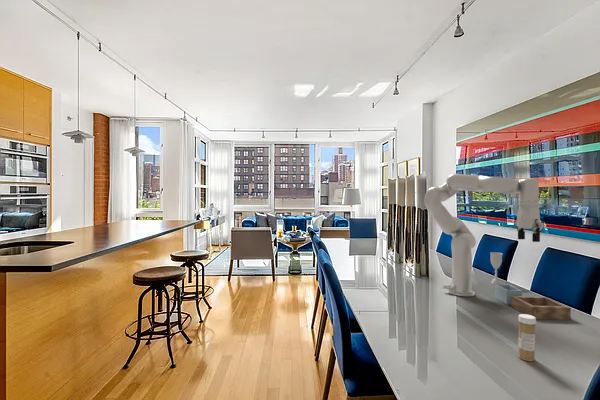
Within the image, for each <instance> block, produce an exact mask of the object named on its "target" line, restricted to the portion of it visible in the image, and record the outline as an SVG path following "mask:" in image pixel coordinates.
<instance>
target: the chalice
mask: <svg viewBox="0 0 600 400" xmlns="http://www.w3.org/2000/svg"><path fill="white" fill-rule="evenodd" d="M489 254H490V264H491V266H492V267H493V269H494V273H495V274H494V278H493V279H492V280H491V282H490V283H491V284H493V285H495V284H496V285H502V284H501V282H500V280H499V279H498V269H499V268H500V266H501V265H502V263H503V259H502V258H503V254H504V253H502V252H495V251H494V252H493V251H492V252H489Z"/></svg>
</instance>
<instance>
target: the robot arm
mask: <svg viewBox="0 0 600 400" xmlns="http://www.w3.org/2000/svg"><path fill="white" fill-rule="evenodd" d="M539 183H540V181H539V179H538V178H522V179H515V178H511V177H498V176H485V175H478V174H465V173H464V174H463V173H452V174H450V175H448V176H447V178H446V182H445V183H443V184H442V185H441V186H432V187H430V188H429V189H427V190H426V193H425V194H424V199H423V201H424V206H425V208H426V210H427V211H428V213H429V215H430V216H431V217H432V218H433V220H434V221H435V223H436V224H437V225H438V227H439V228H440V230H441V231H442V232H443V233H444V234H446V235H451V237H452V239H451V244H450V247H451V283H449V284H448V285H446V284H444V285H443V284H442V286H441V287H442V289H443V290H448V293H449V294H451V295H454V296H458V297H459V296H460V297H474V296H475V295H476V293H475V291H474V290H473V289H472V281H473V277H472V276H473V275H472V274H473V256H472V249H474V248H475V246H476V243H477V241H476V237H475V236H474V235H473V233H472V232H471V231H470V229H469V228H468V227H467V225H466V224H465V223H464V222H463V220H461V219H460V218H459V217H457V216H453V215H452V214H451V213H450V212H449V210H448V209H447V208H446V206H444V205H443V203H442V202H446V201H448V200H449V199H450V198H452V197H454V196H455V195H457V194H458V193H460V191H467V192H476V193H485V192H487V193H496V194H504V195H505V194H507V195H515V194H519V207H518V209H517V213H516V214H517V215H516V221H515V222H514V223H515V228H516V231H517V240H525V239H526V231H525V230H526V229H527V230H529V229H531V230H532V236H531V237H532V238H531V239H532V240H531V241H532V242H533V243H540V242H541V233H542V231H543V228H544V226H545V225H544V223H543V222H541V216H540V215H541V214H540V207H539V193H540V192H539V186H540V184H539Z"/></svg>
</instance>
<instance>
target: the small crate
mask: <svg viewBox="0 0 600 400" xmlns="http://www.w3.org/2000/svg"><path fill="white" fill-rule="evenodd" d="M511 296H523V290H522V289H519V288H517V287H515V286H514V285H510V284H494V299H496V300H497V301H499V302H501V303H502V302H503V303H502V304H505V306H511Z"/></svg>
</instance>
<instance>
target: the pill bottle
mask: <svg viewBox="0 0 600 400" xmlns="http://www.w3.org/2000/svg"><path fill="white" fill-rule="evenodd" d="M536 323H537V319H536V318H535V317H534V316H532V315H528V314H523V313H521V314H518V342H517V343H518V355H517V356H518V358H519V359H521V360H523V361H526V362H535V360H536V358H535V353H536V352H535V350H536Z"/></svg>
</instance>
